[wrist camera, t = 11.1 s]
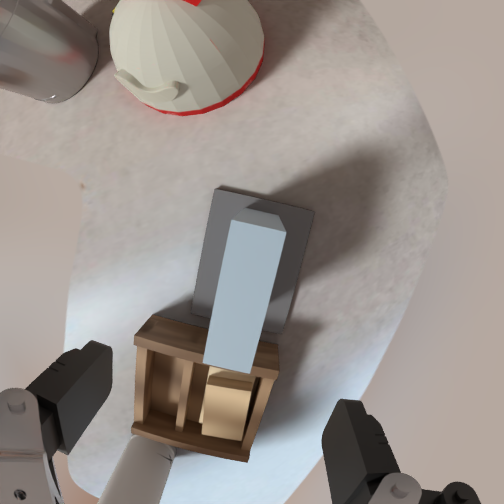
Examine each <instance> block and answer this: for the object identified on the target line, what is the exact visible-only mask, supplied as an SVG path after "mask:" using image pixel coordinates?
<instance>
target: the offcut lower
mask: <svg viewBox="0 0 504 504" xmlns="http://www.w3.org/2000/svg"><path fill="white" fill-rule="evenodd" d="M209 375H211V376H217V377H222V378H228V379H234V380H241V381H247V382H252V388H253V385H254V382H255V378H256V376H252V375H247V374H242V373H238V372H233V371H229V370H224V369H220V368H216V367H211V366H210V368H209V373H208V378H209ZM208 378H207V381H208ZM206 385H207V383H206ZM251 392H252V391H251ZM205 394H206V388H205ZM205 394H204V399H203V404H202V409H201V414H200V419H199V423H202V424H203V414H204V404H205Z"/></svg>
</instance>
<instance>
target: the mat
mask: <svg viewBox="0 0 504 504" xmlns="http://www.w3.org/2000/svg"><path fill="white" fill-rule="evenodd" d="M244 208H249V209H253V210H258V211H262V212H266V213H271V214H275V215H279V217H280V220H281V222H282V224H283V226H284V228H285V230H286V236H285V240H284V244H283V248H282V252H281V257H280V261H279V265H278V269H277V273H276V276H275V280H274V284H273V288H272V292H271V296H270V300H269V304H268V308H267V312H266V315H265V319H264V323H263V327H262V330H263V331H268V332H273V333H278V334H282V332H283V329H284V325H285V322H286V318H287V315H288V311H289V308H290V304H291V301H292V297H293V293H294V290H295V286H296V282H297V279H298V275H299V271H300V268H301V264H302V260H303V256H304V252H305V248H306V245H307V241H308V237H309V233H310V229H311V225H312V221H313V217H314V211H311V210H307V209H303V208H299V207H294V206H290V205H286V204H282V203H278V202H273V201H269V200H265V199H260V198H256V197H252V196H247V195H243V194H238V193H233V192H229V191H224V190H219V189H215V190H214V194H213V199H212V204H211V208H210V213H209V218H208V223H207V228H206V233H205V238H204V243H203V248H202V253H201V259H200V264H199V269H198V275H197V280H196V286H195V291H194V297H193V303H192V308H191V314H195V315H198V316H202V317H207V318H211V316H212V311H213V306H214V301H215V296H216V291H217V286H218V281H219V276H220V271H221V267H222V262H223V257H224V252H225V247H226V243H227V238H228V233H229V229H230V224H231V220H232V219H233V218H234V217H235V216H236V215H237V214H238V213H240V212H241V211H242V210H243V209H244Z"/></svg>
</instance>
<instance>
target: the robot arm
mask: <svg viewBox="0 0 504 504" xmlns="http://www.w3.org/2000/svg"><path fill="white" fill-rule="evenodd" d="M97 31H98V30H97V29H96V28H95V27H94V26H93V25H92V24H90V23H89V22H88V21H87V20H85V19H84V18H83V17H82V16H81V15H79V14H78V13H77V12H76V11H74V10H73V9H72V8H71V7H69V6H68V5H67V4H66V3H64V2H63V1H62V0H0V88H1V89H5V90H8V91H12V92H15V93H18V94H22V95H25V96H28V97H31V98H34V99H36V100H40V101H44V102H47V103H59V102H62V101H65V100H67V99H68V98H70V97H72V96H73V95H74V94H75V93H77V92H78V91H79V90H80V89H81V88H82V87H83V86H84V84H85V83H86V82H87V80H88V79H89V77H90V76H91V74H92V72H93V70H94V68H95V65H96V62H97V58H98V44H97V41H96V38H95V37H96V34H97ZM112 357H113V352H112V348H111V347H110V346H107V345H104V344H101V343H99V342H96V341H93V340H91V341H90V342H88V343H87V344H86V345H85V346H84V347H83V348H82V349H81V350H79V349H76V348H75V349H73V350H70V351H68V352H65V353H63V354H62V355H61V356H60V357H59V358H58V359H57V360H56V362H53V363H52V364H51V365H50V366H49V368H47V369H46V370H45V371H44V372H43V373H41V374H40V375H39V376H38V377H37V378H36V379H35V380H34V381H33V382H32V383H31V384H30V385H29V386H28V387H27V388H26V389H21V388H10V389H6V390H4V391H2V392H1V393H0V504H64V501H63V497H62V493H61V490H60V486H59V482H58V478H57V474H56V470H55V465H54V461H53V457H52V456H53V455H54V454H55V452H56V451H57V450H58V451H60V452H62V453H64V454H66V455H69V453H70V452H71V450H72V449H73V447H74V446H75V444H76V443H77V441H78V440H79V438H80V437H81V435H82V434H83V432H84V431H85V429H86V428H87V426H88V425H89V424H90V422H91V421H92V419H93V418H94V416H95V415H96V413H97V412H98V411H99V409H100V408H101V406H102V405H103V403H104V402H105V400H106V399H107V398H108V396H109V394H110V391H111V388H112ZM322 449H323V454H324V460H325V465H326V471H327V476H328V482H329V487H330V492H331V499H332V504H481V503H480V501H479V498H478V496H477V494H476V492H475V491H474V490H473V488H472V487H470V486H469V485H467V484H465V483H462V482H453V483H450V484H448V485H447V486H446V487H445V488H444V489H443V491H442V492H439V491H431V490H424V489H421V487H420V485H419V483H418V482H417V481H416V480H415V479H414V478H413V477H411V476H409V475H407V474H404V473H401V472H400V469H399V467H398V464H397V462H396V459H395V457H394V455H393V452H392V450H391V447H390V445H388V441H387V438H386V437H385V433H384V431H383V429H382V426H381V424H380V423H379V422H378V421H377V420H376V419H375V418H374V417H373V416H372V415H367V413H366V411H365V408H364V406H363V403H362V402H361V401H358V400H348V399H340V400H339V401H338V402H337V404H336V406H335V408H334V410H333V412H332V414H331V416H330V418H329V421H328V423H327V425H326V427H325V429H324V431H323V435H322Z"/></svg>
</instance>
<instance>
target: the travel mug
mask: <svg viewBox="0 0 504 504" xmlns="http://www.w3.org/2000/svg"><path fill="white" fill-rule="evenodd" d="M175 454H176V448H175V446H171V445H167V444H164V443H161V442H157V441H154V440H151V439H148V438H145V437H142V436H139V435H136V434H132V436H131V438H130V440H129V442H128V444H127V446H126V448H125V450H124V452H123V454H122V456H121V458H120V460H119V462H118V464H117V466H116V467H115V469H114V471H113V473H112V475H111V477H110V479H109V481H108V483H107V485H106V487H105V489H104V491H103V493H102V495H101V497H100V499H99V501H98V503H97V504H159V502H160V499H161V496H162V493H163V490H164V487H165V484H166V481H167V478H168V475H169V472H170V469H171V466H172V463H173V460H174V457H175Z"/></svg>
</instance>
